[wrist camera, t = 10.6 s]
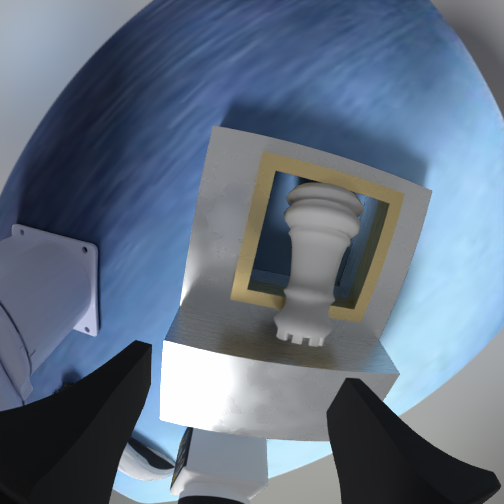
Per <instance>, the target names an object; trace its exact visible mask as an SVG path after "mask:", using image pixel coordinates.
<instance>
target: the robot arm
mask: <svg viewBox="0 0 504 504" xmlns="http://www.w3.org/2000/svg"><path fill="white" fill-rule="evenodd" d="M23 231H24V233H23ZM84 247H86V248H87V252H86V251H85V248H84ZM97 267H98V249H97V247H96V246H95V245H94V244H92V243H88V242H84V241H80V240H76V239H72V238H68V237H65V236H61V235H57V234H53V233H49V232H46V231H42V230H38V229H35V228H31V227H27V226H24V225H20V224H14V225H13V226H12V236H11V237H9V238H6V239H4V240H2V241H0V504H109V500H110V496H111V491H112V488H113V484H114V480H115V476H116V473H117V469H118V466H119V463H120V459H121V457H122V454H123V451H124V449H125V447H126V445H127V442H128V440H129V438H130V436H131V434H132V431H133V429H134V427H135V425H136V423H137V420H138V418H139V416H140V414H141V412H142V409H143V407H144V404H145V401H146V398H147V395H148V392H149V388H150V385H151V355H152V344H148V343H144V342H141V341H137V340H135V341H134V342H132V343H131V344H130V345H128V346H127V347H126V348H125V349H123V350H122V351H121V352H120V353H118V354H117V355H116V356H114V357H113V358H112V359H110V360H109V361H108V362H106V363H105V364H104V365H102V366H101V367H99V368H98V369H97V370H95V371H94V372H92V373H90V374H89V375H87V376H86V377H84V378H83V379H81V380H79V381H78V382H76V383H74V384H73V385H71V386H69V387H67V388H65V389H63V390H61V391H59V392H57V393H55V394H53V395H51V396H48V397H46V398H43V399H41V400H38V401H35V402H33V403H30V404H27V403H26V401H25V399H26V398H27V397H28V395H29V394H30V393H31V391H32V390H33V388H32V386H31V384H30V380H29V378H30V377H31V375H32V374H33V373H34V372H35V371H36V369H37V368H38V367H39V366H40V365H41V364H42V362H43V361H44V360H45V359H46V358H47V357H48V355H49V354H50V353H51V352H52V351H53V350H54V349H55V348H56V346H57V345H58V344H59V343H60V342H61V341H62V340H63V339H64V338H65V337H66V335H67V334H68V333H69V332H70V331H71V330H72V329H75V330H78V331H81V332H83V333H86V334H89V335H92V336H97V334H98V333H99V323H98V296H97ZM87 327H88V328H89V329H88V328H87ZM326 415H327V427H328V435H329V440H330V444H331V448H332V452H333V456H334V461H335V465H336V469H337V473H338V477H339V483H340V490H341V502H342V504H483V503H484V502H485V501H487V500H488V499H489V498H490V497H492V496H493V495H494V494H495V493H496V492H497V491H498V490H499V489H500V487H501V484H500V482H499V481H498V479H497V477H496V475H495V474H494V473H493V472H491V471H488V470H484V469H481V468H478V467H475V466H472V465H470V464H467V463H465V462H462V461H460V460H458V459H456V458H454V457H452V456H450V455H448V454H447V453H445V452H443V451H441V450H440V449H438V448H436V447H435V446H433V445H432V444H430V443H429V442H427V441H426V440H425V439H423V438H422V437H421V436H420V435H418V434H417V433H416V432H414V431H413V430H412V429H411V428H410V427H409V426H408V425H407V424H405V423H404V422H403V421H402V420H401V419H400V418H399V417H398V416H397V415H396V414H395V413H394V412H393V411H392V410H391V409H390V408H389V407H388V406H387V405H386V404H385V403H384V402H383V401H382V400H381V399H380V398H379V397H378V396H377V395H376V394H375V393H374V392H373V391H372V390H371V389H370V388H369V387H368V386H367V385H366V384H365V383H364V382H363V381H362V380H361V379H360V378H345V380H344V382H343V384H342V385H341V387H340V389H339V391H338V393H337V394H336V396H335V398H334V400H333V401H332V403H331V405H330V407H329V408H328V410H327V412H326Z"/></svg>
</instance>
